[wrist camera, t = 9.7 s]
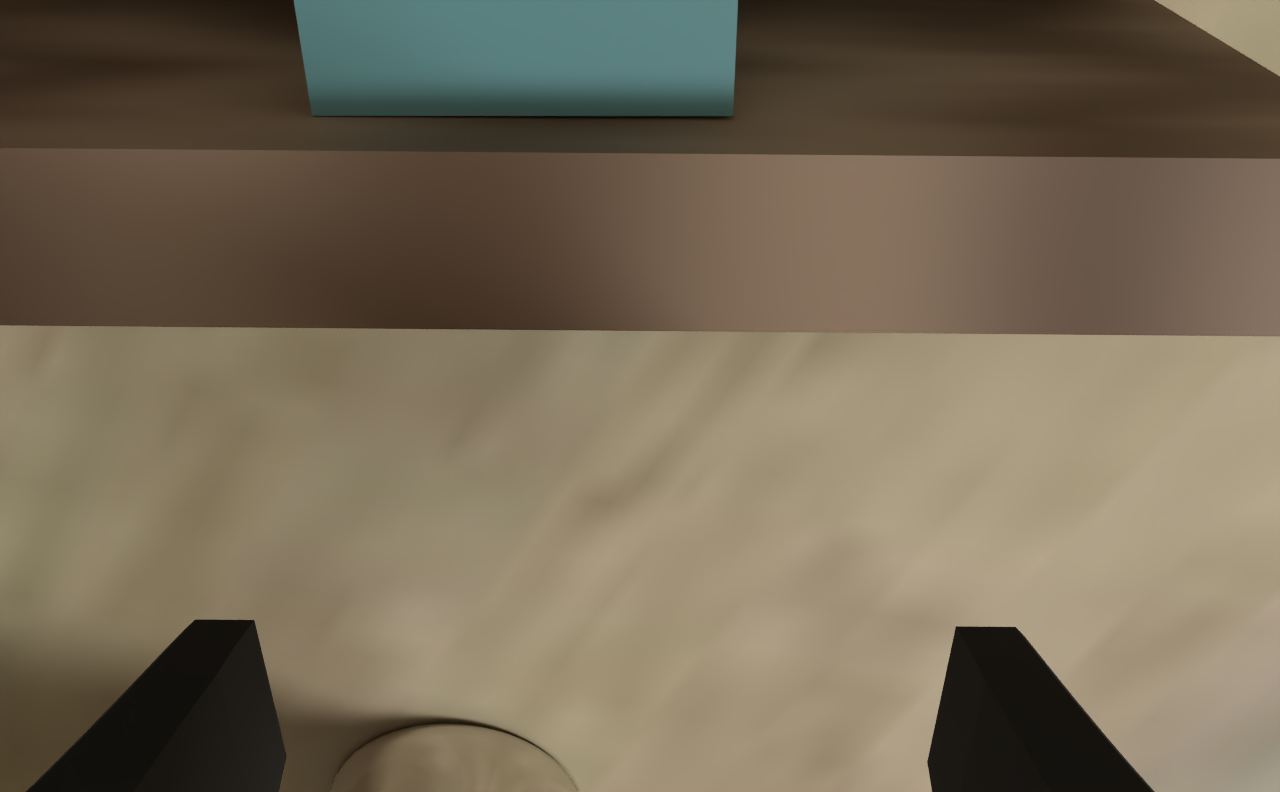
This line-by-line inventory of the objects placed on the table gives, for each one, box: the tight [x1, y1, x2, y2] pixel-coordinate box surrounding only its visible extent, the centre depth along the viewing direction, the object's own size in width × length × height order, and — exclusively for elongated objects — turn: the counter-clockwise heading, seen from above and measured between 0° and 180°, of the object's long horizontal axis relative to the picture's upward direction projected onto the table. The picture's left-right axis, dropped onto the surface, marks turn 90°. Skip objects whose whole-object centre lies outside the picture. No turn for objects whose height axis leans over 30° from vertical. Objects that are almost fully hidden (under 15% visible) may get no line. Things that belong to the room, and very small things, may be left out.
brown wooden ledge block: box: [0, 0, 1280, 336], centre depth 14 cm, size 18×5×7 cm, turn 90°
